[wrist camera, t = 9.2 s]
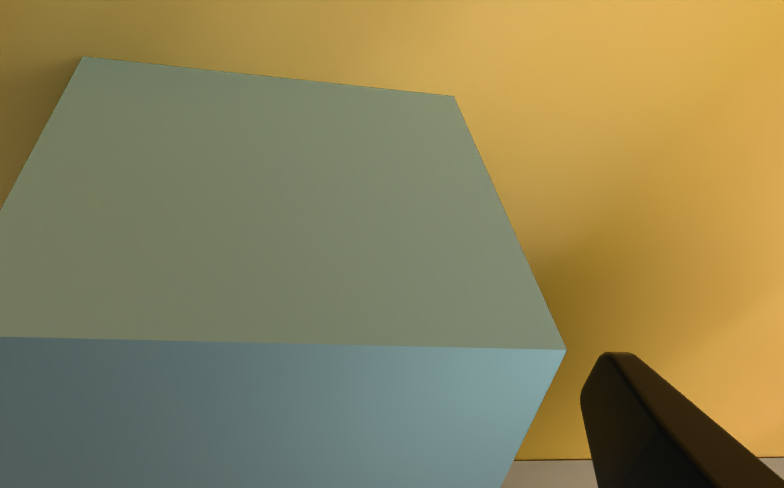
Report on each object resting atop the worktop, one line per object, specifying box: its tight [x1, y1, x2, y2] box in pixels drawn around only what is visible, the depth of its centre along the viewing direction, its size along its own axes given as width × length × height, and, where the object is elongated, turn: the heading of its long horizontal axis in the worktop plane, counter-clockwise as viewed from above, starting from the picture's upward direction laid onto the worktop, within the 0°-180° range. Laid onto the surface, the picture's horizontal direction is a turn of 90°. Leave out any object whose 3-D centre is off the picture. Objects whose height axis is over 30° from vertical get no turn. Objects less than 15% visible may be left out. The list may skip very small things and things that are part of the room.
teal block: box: [0, 56, 567, 488], centre depth 9 cm, size 5×5×5 cm
